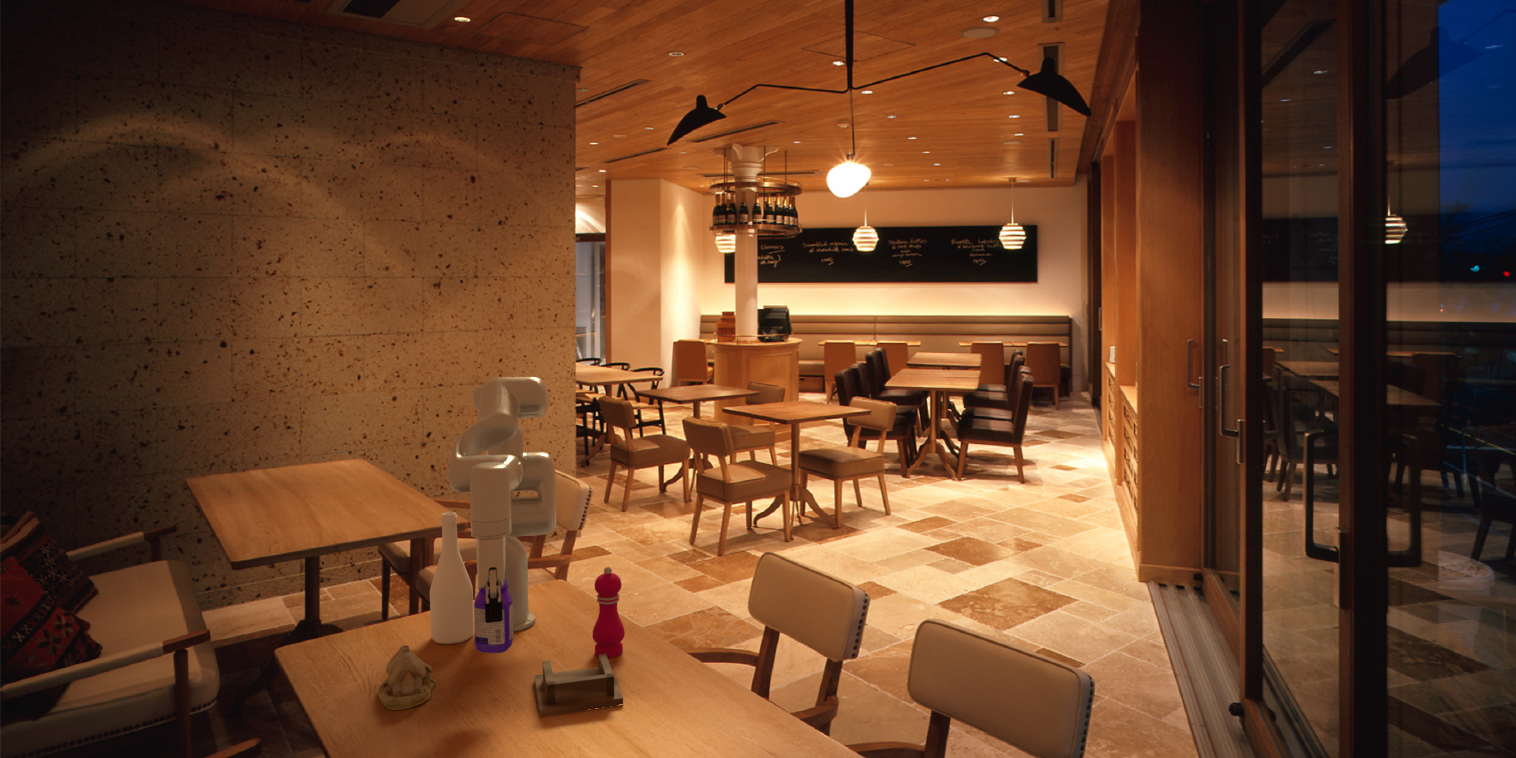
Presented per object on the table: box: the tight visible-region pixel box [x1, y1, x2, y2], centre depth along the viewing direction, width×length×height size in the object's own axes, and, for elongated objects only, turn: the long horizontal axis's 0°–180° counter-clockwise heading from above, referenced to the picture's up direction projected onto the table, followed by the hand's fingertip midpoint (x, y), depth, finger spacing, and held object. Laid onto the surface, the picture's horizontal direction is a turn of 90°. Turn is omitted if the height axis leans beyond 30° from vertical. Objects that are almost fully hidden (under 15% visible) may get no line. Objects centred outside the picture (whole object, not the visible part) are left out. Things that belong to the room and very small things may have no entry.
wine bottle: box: [429, 511, 475, 645], centre depth 202 cm, size 10×10×30 cm
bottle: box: [473, 574, 514, 654], centre depth 169 cm, size 7×6×17 cm
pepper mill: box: [592, 566, 626, 659], centre depth 194 cm, size 7×7×20 cm
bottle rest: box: [534, 654, 624, 718], centre depth 174 cm, size 16×16×6 cm
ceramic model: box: [376, 645, 436, 711], centre depth 174 cm, size 14×11×10 cm
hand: (493, 613), depth 169 cm, fingers closed on bottle, 6 cm apart
